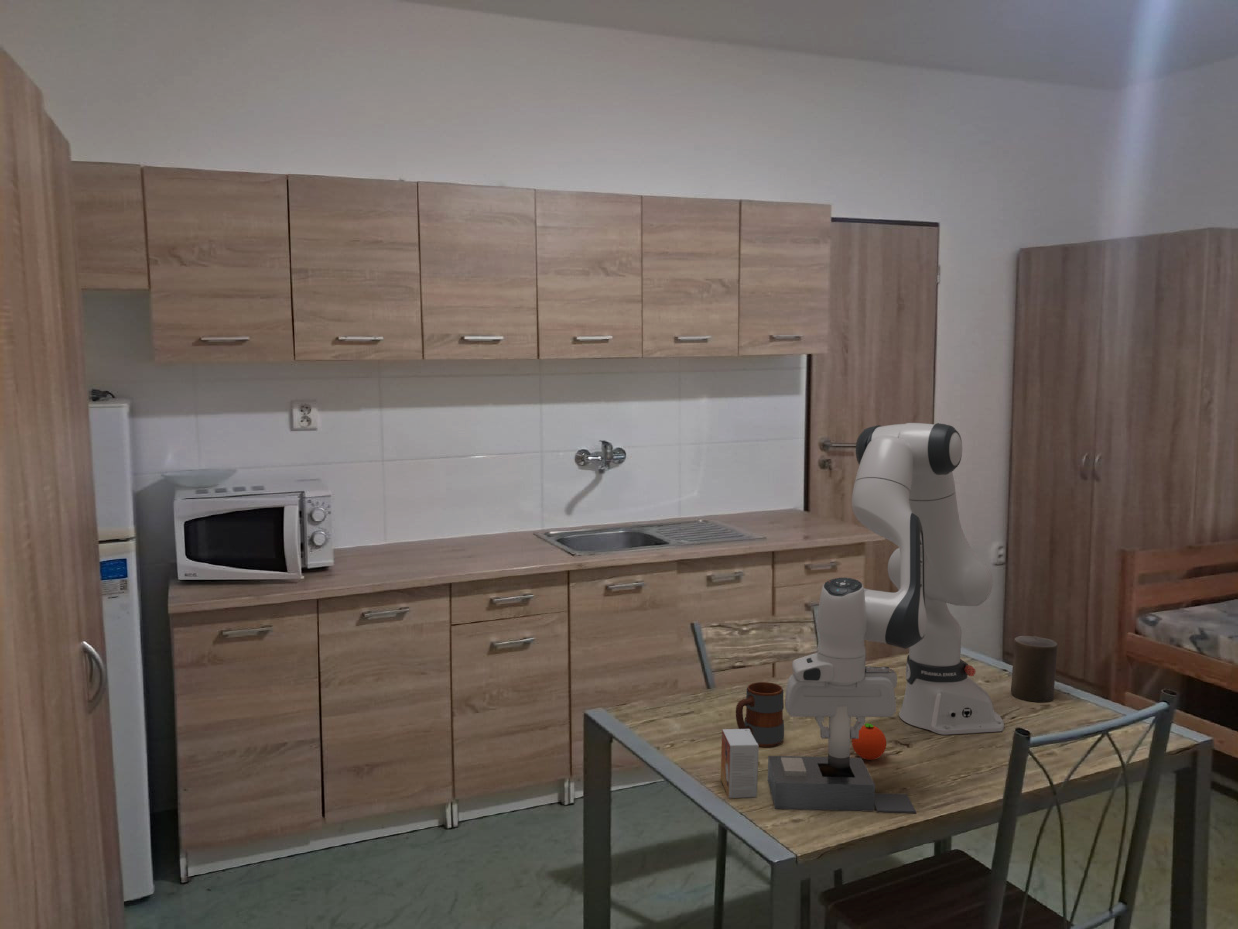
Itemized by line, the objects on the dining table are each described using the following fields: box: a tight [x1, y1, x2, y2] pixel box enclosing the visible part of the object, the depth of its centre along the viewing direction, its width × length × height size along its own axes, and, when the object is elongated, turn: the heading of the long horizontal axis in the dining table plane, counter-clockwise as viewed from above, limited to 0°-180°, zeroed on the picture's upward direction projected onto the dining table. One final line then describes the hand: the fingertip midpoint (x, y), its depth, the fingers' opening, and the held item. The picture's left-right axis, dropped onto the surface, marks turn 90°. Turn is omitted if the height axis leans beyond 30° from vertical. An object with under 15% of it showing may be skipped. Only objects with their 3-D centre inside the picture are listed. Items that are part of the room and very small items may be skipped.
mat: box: [874, 792, 917, 814], centre depth 185 cm, size 7×7×1 cm
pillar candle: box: [1010, 635, 1058, 704], centre depth 242 cm, size 10×10×15 cm
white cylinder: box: [827, 706, 852, 768], centre depth 187 cm, size 4×4×12 cm
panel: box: [767, 755, 876, 812], centre depth 188 cm, size 18×12×6 cm, turn 88°
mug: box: [735, 681, 785, 748], centre depth 213 cm, size 9×12×12 cm
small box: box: [720, 728, 760, 799], centre depth 191 cm, size 8×6×10 cm
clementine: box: [851, 722, 887, 761], centre depth 206 cm, size 8×7×7 cm
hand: (839, 737), depth 187 cm, fingers closed on white cylinder, 4 cm apart
